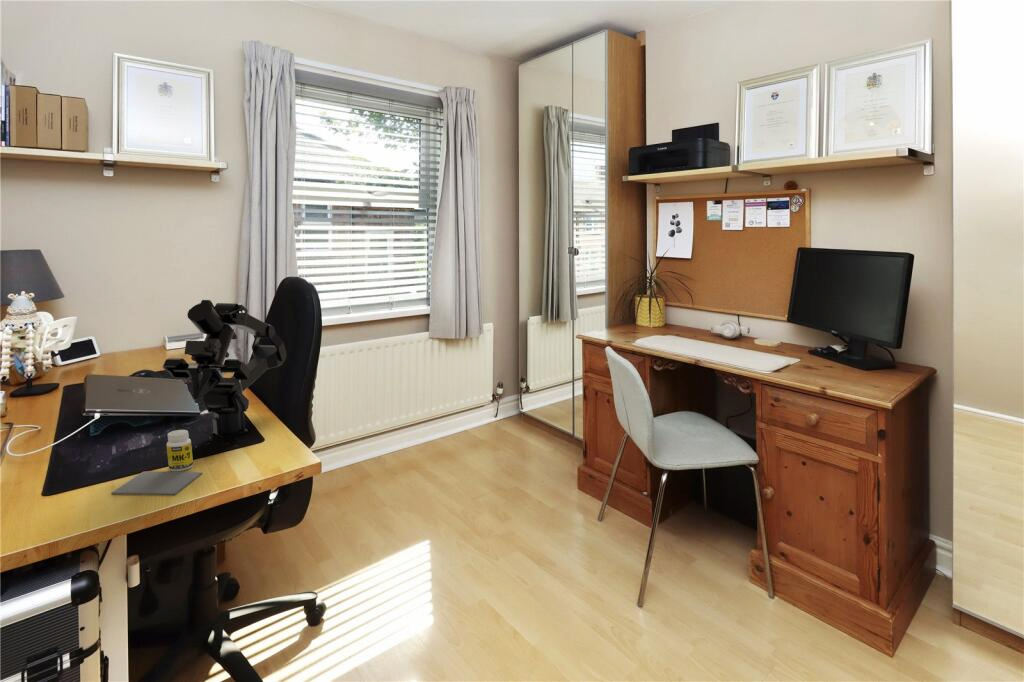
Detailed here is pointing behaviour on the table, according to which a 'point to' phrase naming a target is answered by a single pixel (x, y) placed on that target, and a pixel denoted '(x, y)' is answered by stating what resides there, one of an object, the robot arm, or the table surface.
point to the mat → (157, 483)
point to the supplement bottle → (179, 450)
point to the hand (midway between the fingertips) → (195, 399)
